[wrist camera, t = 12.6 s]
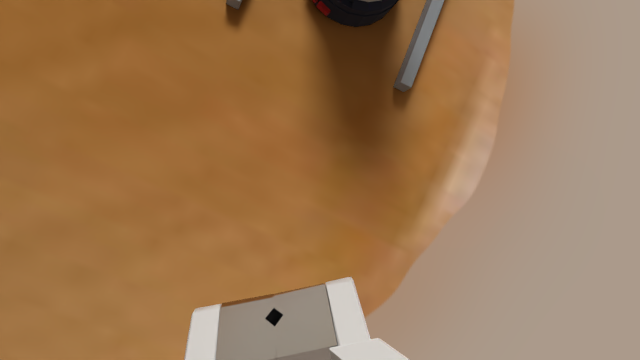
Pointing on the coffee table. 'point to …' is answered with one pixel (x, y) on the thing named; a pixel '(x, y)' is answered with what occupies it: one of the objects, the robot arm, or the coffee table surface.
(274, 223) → the coffee table surface
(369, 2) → the humidifier
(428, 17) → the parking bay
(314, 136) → the coffee table surface
